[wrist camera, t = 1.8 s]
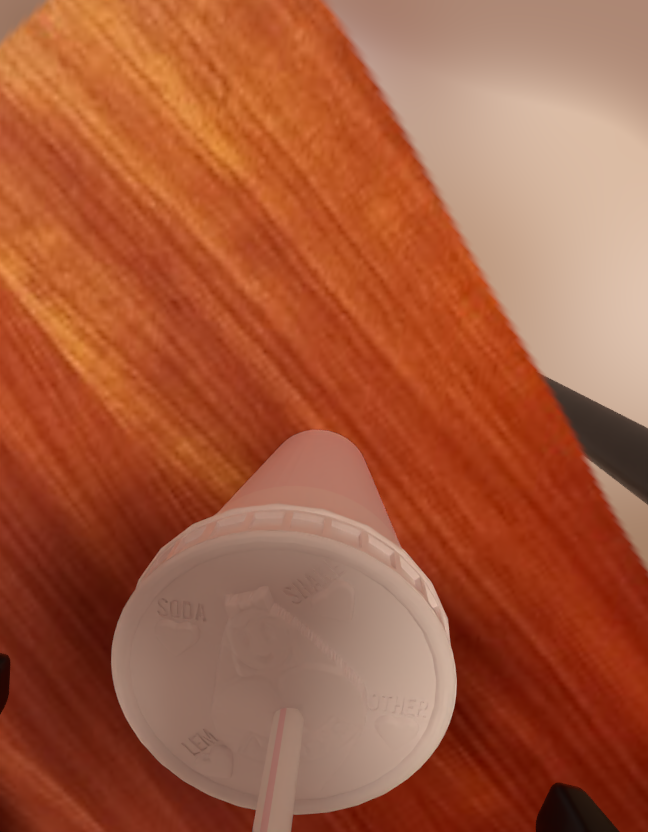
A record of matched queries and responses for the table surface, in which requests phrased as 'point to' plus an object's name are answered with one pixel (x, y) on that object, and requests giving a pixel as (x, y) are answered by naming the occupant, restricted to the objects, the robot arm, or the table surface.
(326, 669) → the smoothie
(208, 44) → the table surface
